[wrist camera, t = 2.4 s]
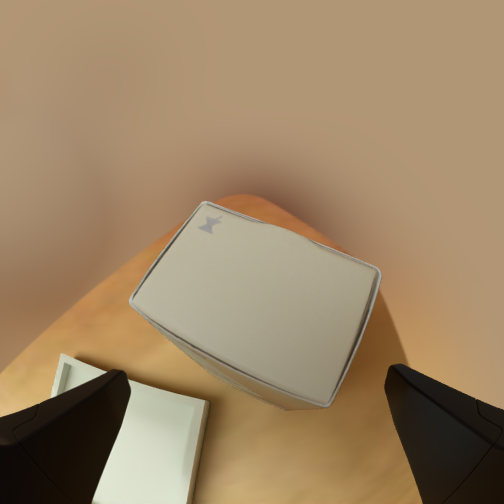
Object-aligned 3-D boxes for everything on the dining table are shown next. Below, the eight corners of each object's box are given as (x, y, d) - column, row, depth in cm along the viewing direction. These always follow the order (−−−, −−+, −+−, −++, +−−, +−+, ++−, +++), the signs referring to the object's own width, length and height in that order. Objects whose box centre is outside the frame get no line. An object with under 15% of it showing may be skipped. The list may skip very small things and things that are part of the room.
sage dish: (185, 542, 10) (178, 550, 8) (52, 479, 11) (40, 479, 10) (210, 401, 16) (205, 400, 15) (73, 358, 18) (61, 352, 16)
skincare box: (205, 371, 17) (113, 298, 7) (236, 319, 19) (195, 193, 9) (291, 414, 15) (332, 416, 5) (319, 357, 17) (387, 264, 7)
